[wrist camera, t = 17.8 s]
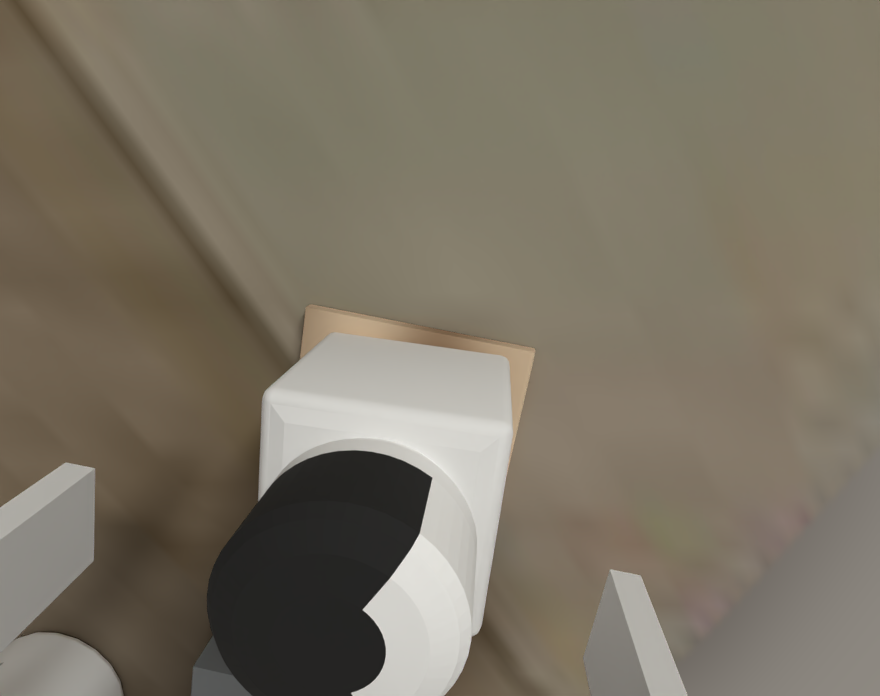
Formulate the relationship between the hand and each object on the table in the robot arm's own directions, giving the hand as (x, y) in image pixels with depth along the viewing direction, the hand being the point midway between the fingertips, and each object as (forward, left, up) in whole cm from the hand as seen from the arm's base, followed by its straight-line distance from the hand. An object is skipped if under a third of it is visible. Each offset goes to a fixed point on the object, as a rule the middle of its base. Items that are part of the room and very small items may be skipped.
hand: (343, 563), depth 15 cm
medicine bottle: (0, 0, -10) cm, 10 cm away
